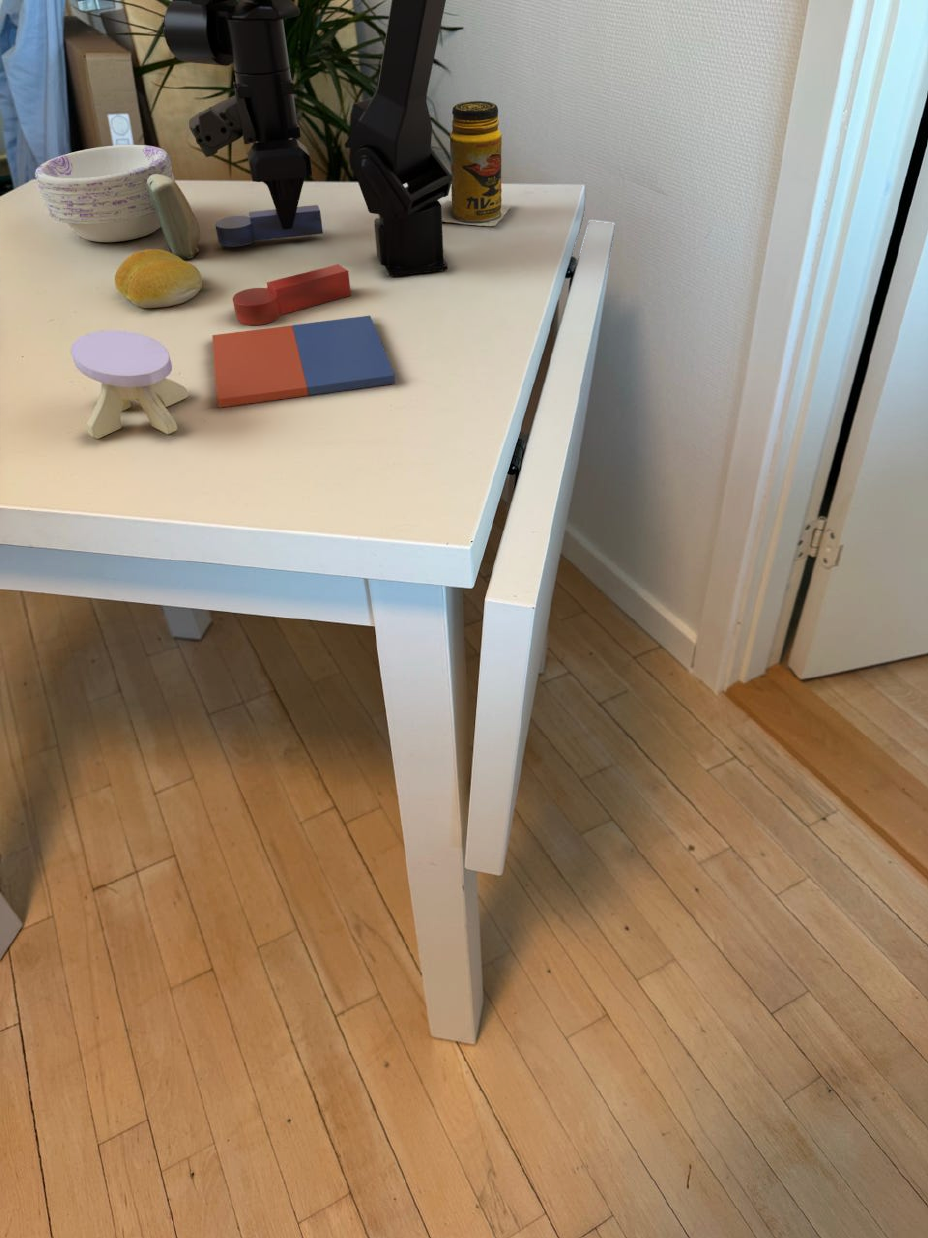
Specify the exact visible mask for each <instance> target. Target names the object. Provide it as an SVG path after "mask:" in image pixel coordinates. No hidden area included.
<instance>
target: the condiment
mask: <svg viewBox="0 0 928 1238" xmlns="http://www.w3.org/2000/svg"><path fill="white" fill-rule="evenodd" d="M451 114H452V122H451V127H452V130H451V132H450V135H449V151H450V152H449V153H450V154H449V157H450V174H451V175H452V183H451V187H450V190H451V200H446V201H445V202H444V204H443V205H442V206H441V210H442V222H445V223H453V224H460V225H469V226H470V225H472V226H479V227H480V226H481V227H483V226H485V227H494V226H497V224H499V222H500V221H501V220H502V219H503V218H504V217H505V215H506V214H507V213H508V211H509V209H510V208H512V206H511V205H502V201H503V200H502V192H503V191H502V189H503V188H502V146H503V145H502V144H503V143H502V140H503V139H502V133H501V131H500V130H499V128H498V127H499V125H500V123H499V108H498V105H496V103H494V102H490V101H483V100H471V101H463V102H460V103H457V104H455V105H454V106H453V107H452V112H451Z"/></svg>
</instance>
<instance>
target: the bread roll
mask: <svg viewBox="0 0 928 1238" xmlns="http://www.w3.org/2000/svg"><path fill="white" fill-rule="evenodd" d="M114 285H115V288H116V290H117V291H118V292H119V294H120V295H122V296H123V298H125V299H127V300H128V301H130V302H131V303H132V304H133V305H135V306H136V307H139V308H142V309H155V308H157V309H158V308H169V307H173V306H179V305H180V304H184V303H186V302H188V301H191V299H193V298H194V297H195V296H197V294H198V293H199V292H200V290H201V289H202V288H203V280H202V274H201V271H200V270H199V268H198V267H197V266H196V265H194V264H193V263H192V262H188V261H185V259H184V260H182V259H181V258H180V257H178V256H176V255H174V254H172V252H171V251H168V250H165V249H154V248H152V249H151V248H148V249H144V250H139V251H136V252H133V253H132V254H130V255H129V256H128V257H126V258H125V259H124V260H123V262H122V263H121V264H120V265H119V267H118V268H117V270H116V272H115V274H114Z"/></svg>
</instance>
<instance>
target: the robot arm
mask: <svg viewBox="0 0 928 1238" xmlns="http://www.w3.org/2000/svg"><path fill="white" fill-rule="evenodd" d="M236 1H237V0H171V2H169V5H168V6H167V8H166V11H165V15H164V20H163V21H164V22H163V23H164V26H163V29H162V31H163V36H164V39H165V43H166V44H167V47H168V49H169V51H170V52H171V54H172V55H173V56H174V57H175V58H176V59H177V60H178V61H181V62H183V63H194V64H201V65H203V64H204V65H213V66H223V67H227V66H230V65H233V70H234V76H235V81H234V82H233V88H234V89H233V90H234V95H231V97H228V98H227V99H224V100H221V101H220V102H218V103H215V104H214V105H212V106H209V107H207V108H206V109H205V110H202V111H199V112H198V113H197V114H195V115H193V116H192V117H190V118H189V120H188V129H189V131H190V132H191V134H192V136H193V137H194V139H195V143H196V144H197V145H198V146H199V148H200V149H201V151H202V154H203V155H204V157H205V158H210V157H212V156H214V155H216V154H217V153H218V152H219V150H221V149H222V148H225V147H227V146H229V145H230V144H232V143H234V142H236V141H238V140H240V139H241V138H242V139H243V140H242V141H243V144H244V145H250V144H252V145H251V147H250V148H249V149H248V151H247V152H246V156H247V159H248V165H249V170H250V176H251V180H252V182H254V183H255V182H256V183H263V184H264V185H266V186H267V188H268V191H269V194H270V197H271V199H272V201H273V202H272V203H273V205H274V209H276V211H277V214H278V217H279V220H280V223H281V225H282V228H283V229H284V230H286V229H292V227H293V223H294V219H295V215H296V210H297V207H299V202H300V197H301V193H302V189H303V187H304V186H303V185H304V182H305V179H306V178H309V177H311V176H313V170H312V169H313V168H312V161H311V155H310V153H309V151H308V148H307V147H306V145H304V144H303V143H302V142H300V141H299V139H300V138H302V137H301V136H302V135H301V128H300V125H299V123H298V117H297V110H296V103H295V97H294V94H295V93H296V92H295V85H294V81H293V79H292V75H291V68H290V60H289V53H288V46H287V39H286V38H287V37H286V32H285V25H284V20H287V19H290V18H291V19H292V18H295V17H298V16H300V14H301V10H300V8H299V7H298V5H297V4H295V2H294V1H292V0H239V1H238V2H236ZM446 1H447V0H391V2H390V8H389V15H388V20H387V21H388V22H387V27H386V32H385V39H384V45H383V51H382V58H381V64H380V70H379V76H378V82H377V87H376V89H375V92H374V94H373V96H372V97H369V98H366V99H365V100H362V101H359V102H356V103H353V105H352V107H351V110H350V111H351V112H350V124H349V125H350V127H349V134H348V137H347V139H346V142H344V143H345V144H344V148H346V149H349V153H348V161H349V168H350V170H351V172H353V174H354V176H355V178H356V180H357V183H358V186H359V189H360V191H361V194H362V197H363V199H364V203H365V205H366V208H367V211H368V213H369V214H373V215H378V217H377V218H375V219H374V220H373V221H374V222H373V223H374V235H375V236H374V237H375V245H376V246H375V247H376V257H377V259H378V261H379V263H380V265H381V266H382V267H384V270H385V271H386V273H387V275H388V276H389V277H396V276H397V277H398V276H406V275H413V274H414V275H415V274H416V275H417V274H422V273H432V272H440V271H441V272H442V271H447V270H448V268H449V267H448V263H447V261H446V260H445V257H444V239H443V236H444V235H443V221H442V210H441V207H442V204H441V202H439V200H440V199H442V198H446V197H448V196H449V194H450V190H451V186H452V184H451V183H452V175H451V172H449V170H448V169H447V167H446V166H445V165H444V163H443V162H442V161H441V160H440V158H439V157H438V155H437V154H436V153H435V152H434V150H433V149H432V138H433V137H432V136H433V124H432V120H431V115H430V111H429V106H428V102H427V99H428V96H427V95H428V91H429V84H430V81H431V76H432V70H433V66H434V61H435V56H436V52H437V51H436V50H437V46H438V41H439V40H438V39H439V36H440V30H441V26H442V22H443V16H444V12H445V6H446ZM295 95H296V94H295ZM405 184H407V186H405Z"/></svg>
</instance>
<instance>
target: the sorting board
mask: <svg viewBox="0 0 928 1238" xmlns="http://www.w3.org/2000/svg"><path fill="white" fill-rule="evenodd" d="M211 336H212V337H211V338H212V339H211V340H212V351H213V353H212V354H213V364H214V366H213V367H214V378H215V379H214V381H215V392H216V402H217V406H218V408H219V409H220V408H227V407H233V406H240V405H249V404H257V403H263V402H271V401H277V400H284V399H291V398H292V399H293V398H299V397H300V398H301V397H306V396H315V395H321V394H329V393H336V392H343V391H350V390H351V391H352V390H358V389H365V388H372V387H380V386H385V385H386V386H387V385H394V384H396V377H395V373H394V370H393V368H392V366H391V363H390V361H389V358H388V356H387V353H386V351H385V349H384V346H383V343H382V341H381V339H380V337H379V334H378V331H377V329H376V327H375V324H374V321H373V319H372V317H371V315H363V316H355V317H348V318H347V317H346V318H339V319H338V318H337V319H331V320H323V321H315V322H314V321H313V322H307V323H299V324H291V325H284V326H275V327H268V328H266V327H265V328H259V329H251V330H243V331H235V332H227V333H219V334H213V335H211Z"/></svg>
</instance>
